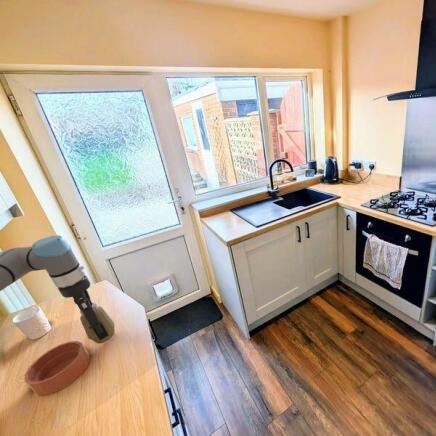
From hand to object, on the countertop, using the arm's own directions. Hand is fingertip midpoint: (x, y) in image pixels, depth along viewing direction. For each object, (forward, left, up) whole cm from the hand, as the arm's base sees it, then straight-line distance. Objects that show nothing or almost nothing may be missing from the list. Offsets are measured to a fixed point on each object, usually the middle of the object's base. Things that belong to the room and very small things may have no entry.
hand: (101, 330), depth 89 cm
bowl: (+3, -13, -5) cm, 14 cm away
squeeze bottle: (0, 0, -3) cm, 3 cm away
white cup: (-28, -18, -6) cm, 34 cm away
